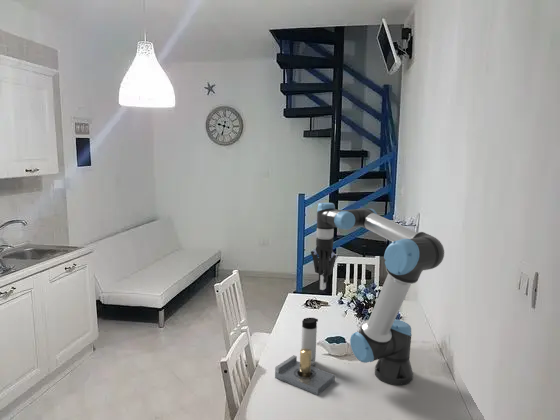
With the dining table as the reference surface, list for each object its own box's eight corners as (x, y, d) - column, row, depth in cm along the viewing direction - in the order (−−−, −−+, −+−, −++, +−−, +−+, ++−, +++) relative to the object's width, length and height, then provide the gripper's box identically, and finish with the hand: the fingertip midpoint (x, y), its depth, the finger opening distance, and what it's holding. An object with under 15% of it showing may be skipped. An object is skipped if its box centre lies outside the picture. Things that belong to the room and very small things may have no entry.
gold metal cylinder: (312, 378, 172) (313, 350, 171) (306, 383, 169) (307, 354, 167) (303, 375, 175) (304, 347, 173) (297, 379, 171) (298, 351, 170)
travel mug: (315, 367, 181) (316, 322, 178) (299, 365, 182) (301, 320, 180) (316, 360, 187) (318, 316, 185) (302, 358, 189) (303, 315, 186)
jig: (334, 380, 171) (335, 370, 170) (317, 395, 161) (318, 383, 160) (293, 365, 183) (293, 355, 182) (275, 377, 172) (275, 367, 172)
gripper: (342, 238, 189) (339, 290, 192) (316, 234, 196) (314, 284, 200) (333, 240, 183) (331, 294, 186) (307, 236, 190) (306, 288, 194)
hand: (322, 288), depth 193 cm, fingers closed
